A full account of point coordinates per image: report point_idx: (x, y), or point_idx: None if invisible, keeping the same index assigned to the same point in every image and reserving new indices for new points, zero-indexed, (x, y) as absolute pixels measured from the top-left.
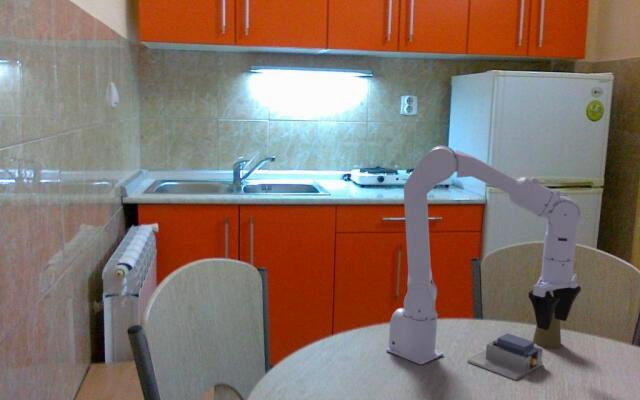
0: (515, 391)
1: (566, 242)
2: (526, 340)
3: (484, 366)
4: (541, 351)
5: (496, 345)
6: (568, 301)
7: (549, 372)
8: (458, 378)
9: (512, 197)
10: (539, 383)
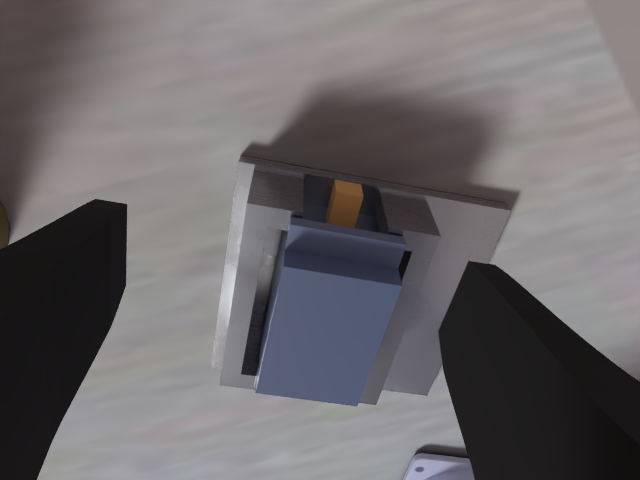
0: (628, 172)
1: None
2: (290, 303)
3: None
4: (257, 199)
5: None
6: (12, 345)
7: (314, 101)
8: None
9: None
10: (484, 107)
